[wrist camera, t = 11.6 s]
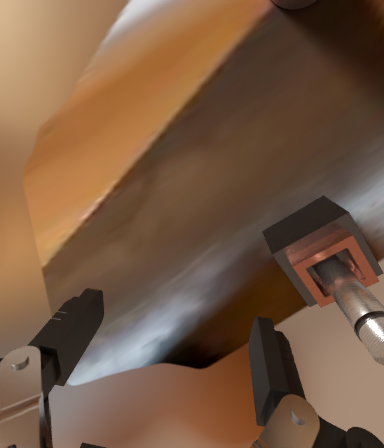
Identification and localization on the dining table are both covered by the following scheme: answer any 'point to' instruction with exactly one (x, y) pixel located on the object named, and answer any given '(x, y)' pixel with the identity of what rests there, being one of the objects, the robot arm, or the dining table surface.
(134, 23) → the dining table surface
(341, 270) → the steel tube
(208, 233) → the dining table surface
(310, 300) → the block
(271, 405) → the robot arm
